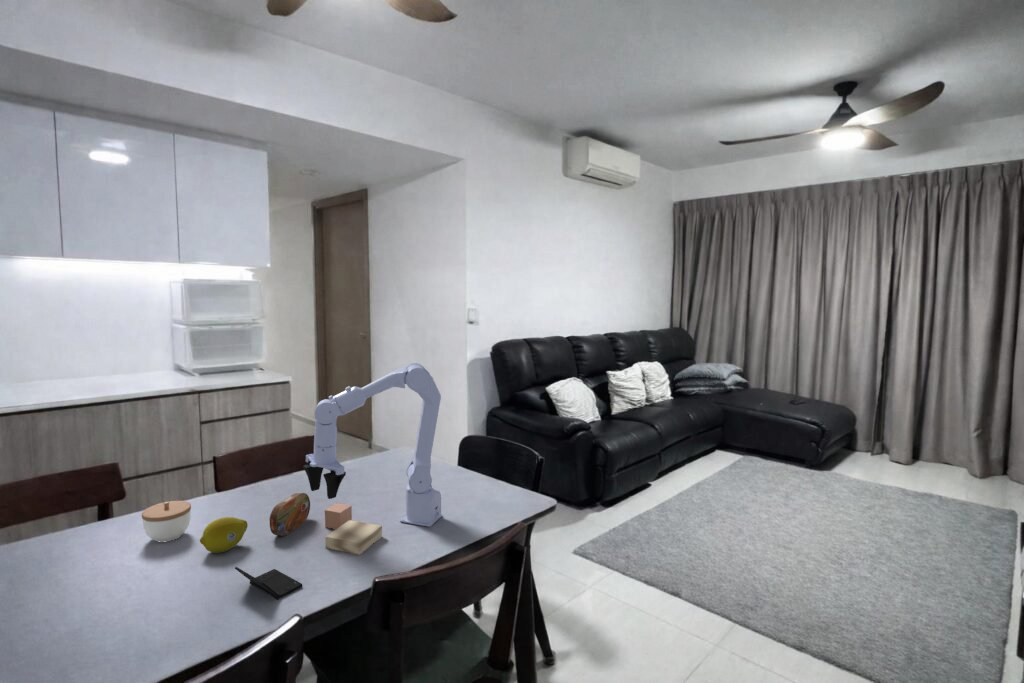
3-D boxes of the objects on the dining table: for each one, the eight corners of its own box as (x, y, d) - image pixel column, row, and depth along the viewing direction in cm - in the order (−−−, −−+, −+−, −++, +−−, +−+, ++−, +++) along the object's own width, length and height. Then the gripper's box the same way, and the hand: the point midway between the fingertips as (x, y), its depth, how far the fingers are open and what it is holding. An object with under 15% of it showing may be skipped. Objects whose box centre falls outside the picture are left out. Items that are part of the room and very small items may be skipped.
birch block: (381, 536, 139) (381, 525, 139) (359, 554, 130) (359, 543, 130) (349, 530, 143) (349, 520, 142) (325, 547, 133) (325, 536, 133)
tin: (278, 541, 136) (277, 510, 135) (267, 540, 137) (266, 509, 136) (311, 517, 151) (310, 488, 150) (301, 516, 151) (300, 487, 151)
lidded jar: (201, 532, 140) (199, 498, 139) (160, 550, 131) (158, 514, 130) (175, 524, 145) (173, 491, 144) (133, 541, 135) (131, 506, 134)
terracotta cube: (351, 522, 148) (351, 505, 147) (340, 530, 143) (340, 512, 142) (336, 520, 149) (336, 503, 149) (325, 527, 144) (324, 510, 144)
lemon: (203, 562, 125) (201, 530, 125) (197, 550, 131) (195, 519, 130) (252, 548, 132) (251, 518, 132) (244, 537, 138) (243, 507, 137)
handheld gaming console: (309, 575, 118) (282, 553, 112) (291, 608, 113) (262, 587, 107) (273, 570, 123) (245, 548, 117) (255, 601, 118) (224, 581, 112)
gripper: (296, 441, 142) (294, 490, 144) (328, 454, 134) (326, 505, 135) (319, 436, 148) (317, 483, 149) (351, 448, 140) (349, 498, 141)
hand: (323, 493), depth 143 cm, fingers open, 7 cm apart
